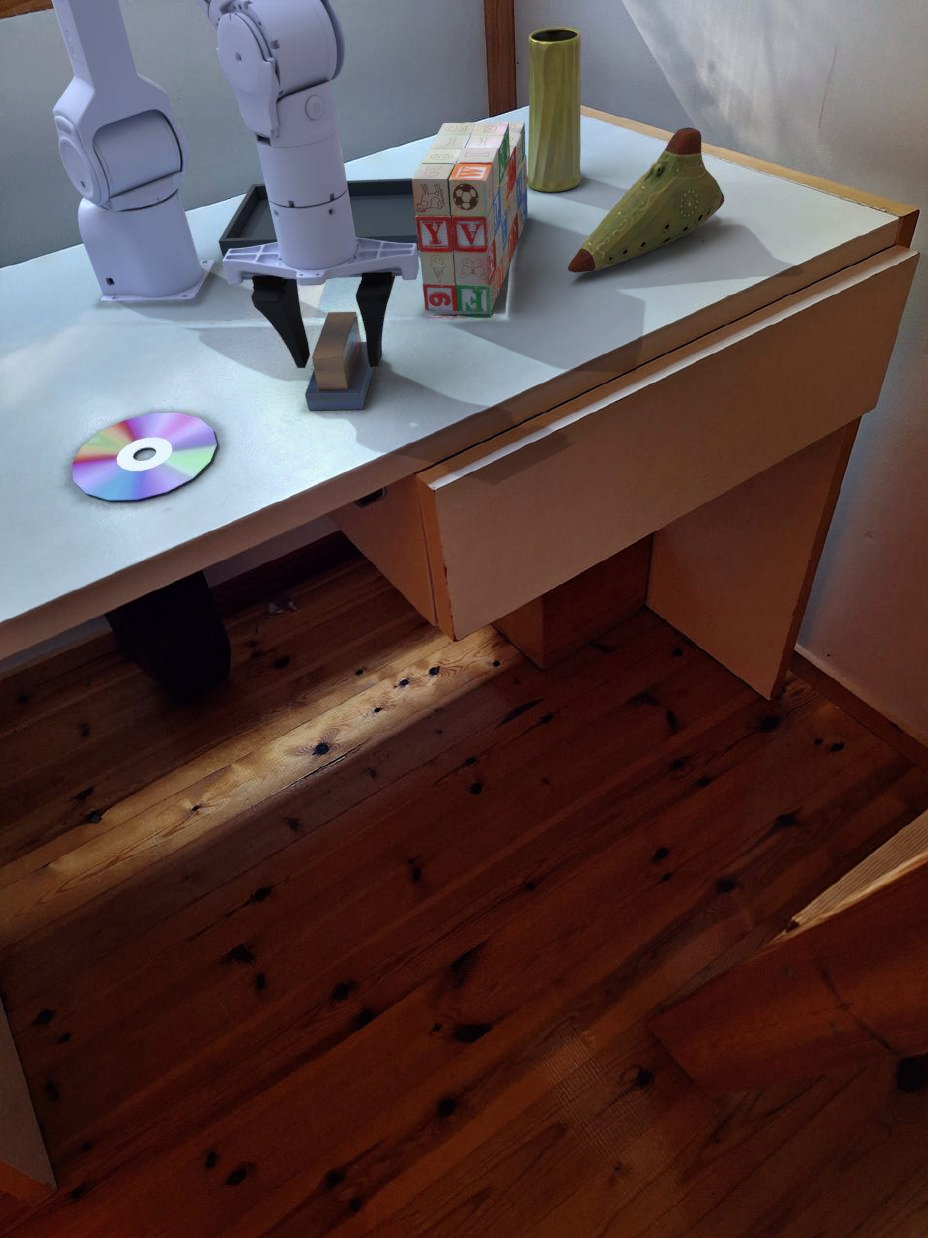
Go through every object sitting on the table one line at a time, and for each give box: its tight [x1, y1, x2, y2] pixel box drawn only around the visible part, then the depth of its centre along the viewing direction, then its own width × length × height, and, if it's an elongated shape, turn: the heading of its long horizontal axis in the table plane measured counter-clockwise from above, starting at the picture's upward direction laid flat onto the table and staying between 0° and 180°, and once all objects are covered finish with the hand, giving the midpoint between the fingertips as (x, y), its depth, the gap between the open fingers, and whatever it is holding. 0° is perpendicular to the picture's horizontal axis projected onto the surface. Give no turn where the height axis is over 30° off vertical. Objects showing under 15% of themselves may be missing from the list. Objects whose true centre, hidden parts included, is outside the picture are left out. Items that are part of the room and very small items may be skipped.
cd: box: [71, 412, 218, 501], centre depth 70 cm, size 11×11×1 cm
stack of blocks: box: [411, 121, 529, 318], centre depth 84 cm, size 21×6×12 cm, turn 169°
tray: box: [218, 177, 419, 257], centre depth 96 cm, size 21×14×2 cm
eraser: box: [304, 311, 375, 411], centre depth 74 cm, size 8×4×4 cm, turn 175°
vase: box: [527, 26, 583, 193], centre depth 96 cm, size 6×6×14 cm
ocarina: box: [567, 126, 725, 274], centre depth 84 cm, size 20×5×10 cm, turn 126°
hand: (339, 361), depth 74 cm, fingers open, 5 cm apart
